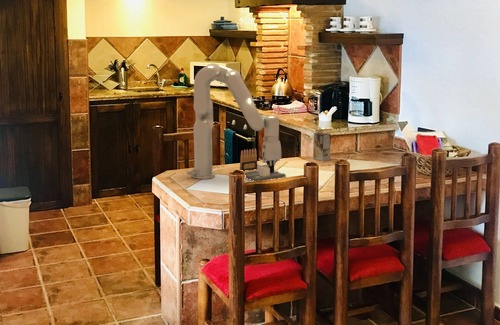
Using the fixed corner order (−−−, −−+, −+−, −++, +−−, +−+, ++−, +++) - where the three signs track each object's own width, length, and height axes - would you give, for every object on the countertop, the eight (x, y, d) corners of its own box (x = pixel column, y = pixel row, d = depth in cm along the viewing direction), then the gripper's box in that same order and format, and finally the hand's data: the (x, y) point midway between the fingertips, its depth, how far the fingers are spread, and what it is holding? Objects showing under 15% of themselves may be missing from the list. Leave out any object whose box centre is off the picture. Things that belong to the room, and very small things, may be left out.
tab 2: (263, 177, 347) (263, 168, 346) (259, 175, 350) (259, 167, 349) (269, 176, 349) (269, 167, 348) (265, 174, 352) (265, 166, 351)
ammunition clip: (241, 171, 365) (241, 150, 362) (239, 170, 366) (239, 149, 364) (257, 169, 370) (257, 148, 368) (255, 168, 372) (255, 147, 369)
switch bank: (254, 181, 342) (254, 178, 342) (240, 176, 354) (240, 173, 353) (285, 176, 353) (285, 173, 353) (270, 171, 364) (270, 168, 364)
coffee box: (330, 160, 395) (331, 133, 391) (322, 161, 391) (323, 135, 388) (320, 157, 402) (320, 131, 399) (312, 158, 398) (313, 132, 395)
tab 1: (261, 173, 354) (261, 165, 353) (257, 172, 358) (257, 164, 357) (267, 172, 356) (267, 164, 355) (263, 171, 360) (263, 163, 359)
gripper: (264, 141, 340) (263, 175, 344) (287, 138, 349) (286, 172, 352) (255, 139, 346) (255, 172, 350) (278, 136, 355) (278, 169, 359)
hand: (271, 172), depth 351 cm, fingers closed
